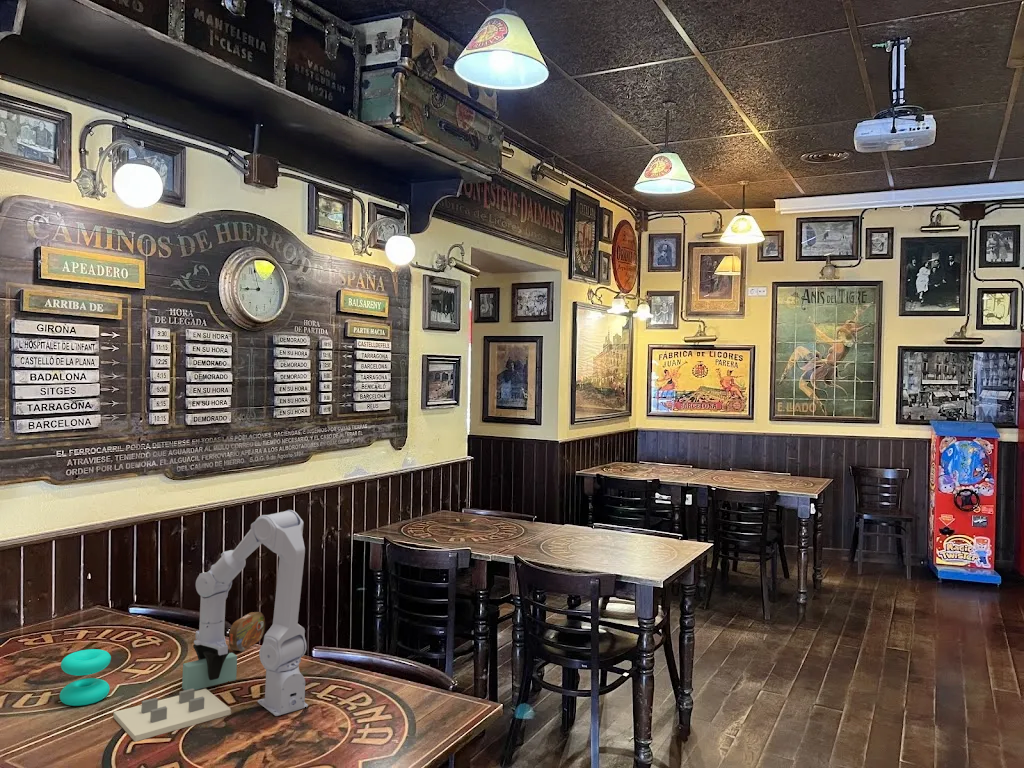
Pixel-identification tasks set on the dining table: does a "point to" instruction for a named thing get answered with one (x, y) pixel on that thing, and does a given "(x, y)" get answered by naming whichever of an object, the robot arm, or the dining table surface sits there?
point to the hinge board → (170, 713)
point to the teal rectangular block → (198, 673)
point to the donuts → (89, 687)
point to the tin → (246, 631)
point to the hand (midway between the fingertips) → (209, 675)
